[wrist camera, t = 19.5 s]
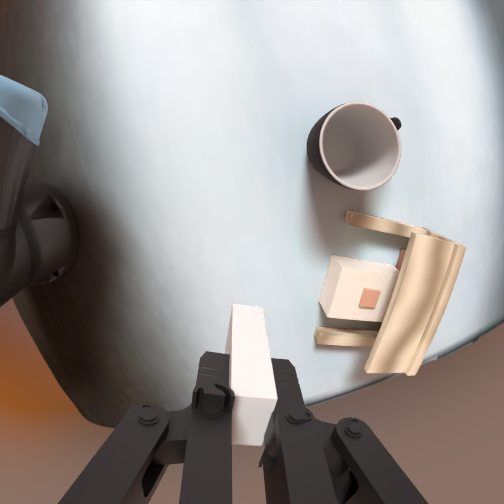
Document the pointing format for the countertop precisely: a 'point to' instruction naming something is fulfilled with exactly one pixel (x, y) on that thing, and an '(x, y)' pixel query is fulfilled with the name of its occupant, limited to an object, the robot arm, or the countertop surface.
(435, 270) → the shelf
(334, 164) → the mug
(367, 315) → the cream white block
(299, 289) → the countertop surface
